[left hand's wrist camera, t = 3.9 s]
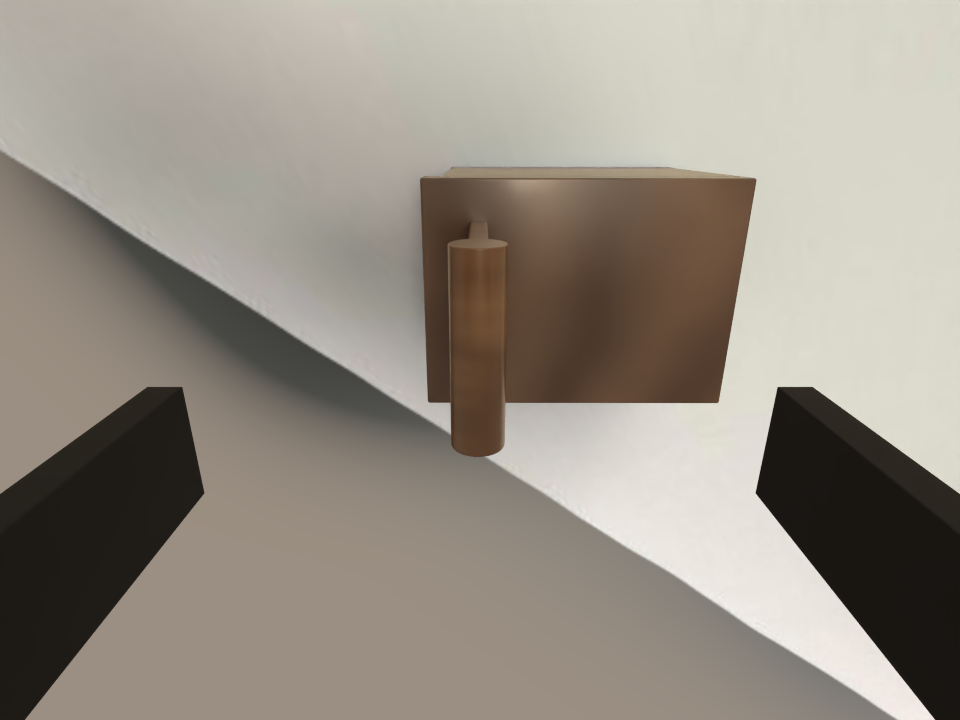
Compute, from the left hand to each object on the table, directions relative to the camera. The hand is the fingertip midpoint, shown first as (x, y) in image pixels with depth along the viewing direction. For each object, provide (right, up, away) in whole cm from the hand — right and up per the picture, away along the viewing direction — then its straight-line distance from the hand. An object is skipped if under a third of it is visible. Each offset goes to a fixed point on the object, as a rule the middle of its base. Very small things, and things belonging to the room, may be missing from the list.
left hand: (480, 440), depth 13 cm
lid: (+4, +5, +13) cm, 14 cm away
